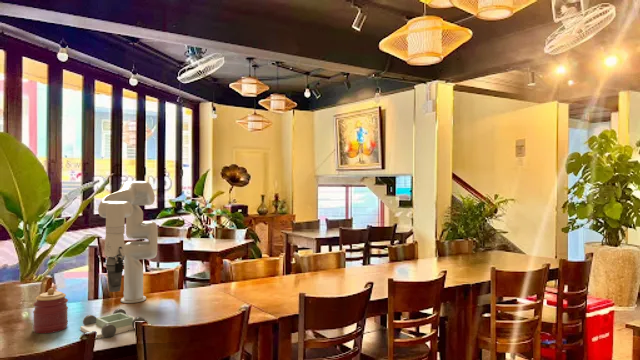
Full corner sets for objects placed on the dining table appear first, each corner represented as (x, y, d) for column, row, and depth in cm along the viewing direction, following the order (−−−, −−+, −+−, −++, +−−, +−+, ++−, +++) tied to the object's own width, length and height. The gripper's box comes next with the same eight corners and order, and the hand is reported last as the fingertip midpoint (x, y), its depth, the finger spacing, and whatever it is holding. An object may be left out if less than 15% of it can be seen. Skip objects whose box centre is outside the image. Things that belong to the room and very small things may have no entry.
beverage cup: (109, 288, 198) (109, 243, 198) (126, 288, 199) (126, 243, 199) (102, 292, 191) (103, 246, 191) (120, 292, 192) (120, 246, 191)
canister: (74, 325, 198) (75, 285, 198) (51, 335, 185) (51, 293, 185) (50, 323, 201) (50, 284, 201) (25, 332, 188) (25, 291, 188)
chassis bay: (78, 328, 193) (78, 317, 193) (127, 317, 210) (127, 306, 210) (98, 340, 180) (98, 328, 180) (149, 327, 196) (150, 315, 196)
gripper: (97, 229, 198) (97, 269, 198) (115, 233, 186) (115, 275, 186) (114, 228, 203) (114, 267, 203) (133, 231, 192) (132, 272, 192)
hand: (114, 270), depth 195 cm, fingers closed on beverage cup, 7 cm apart
